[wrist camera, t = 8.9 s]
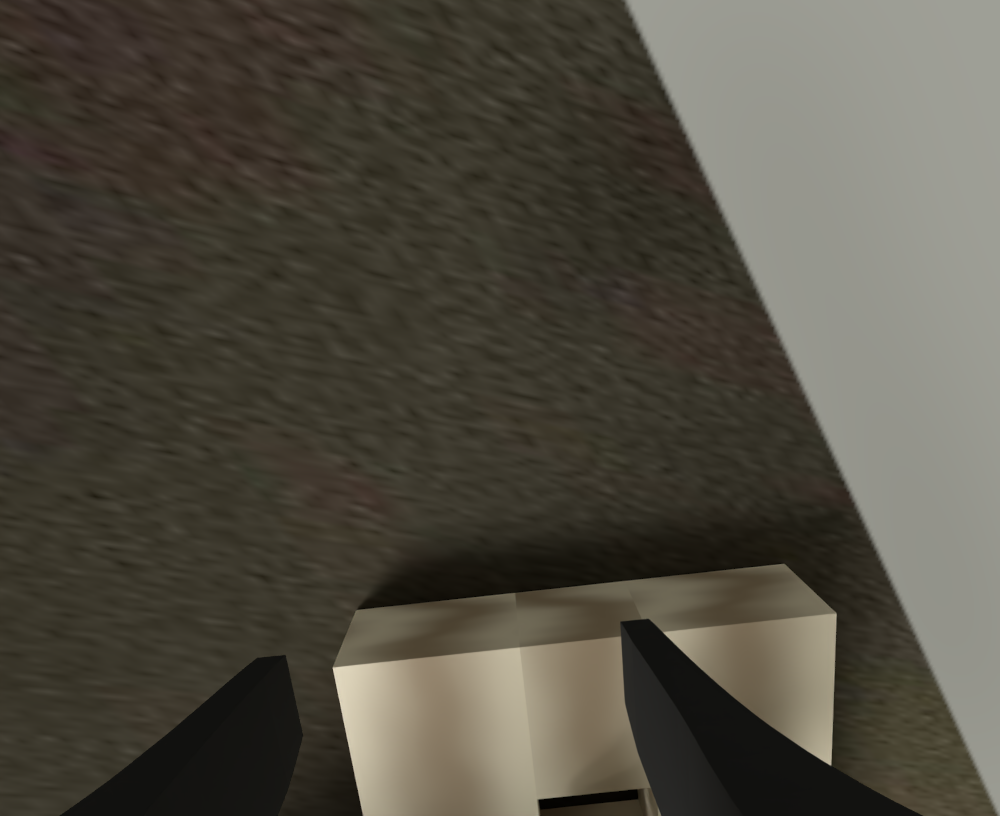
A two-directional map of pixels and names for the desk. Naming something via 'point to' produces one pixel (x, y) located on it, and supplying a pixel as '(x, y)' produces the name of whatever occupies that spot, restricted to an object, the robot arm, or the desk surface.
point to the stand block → (564, 687)
